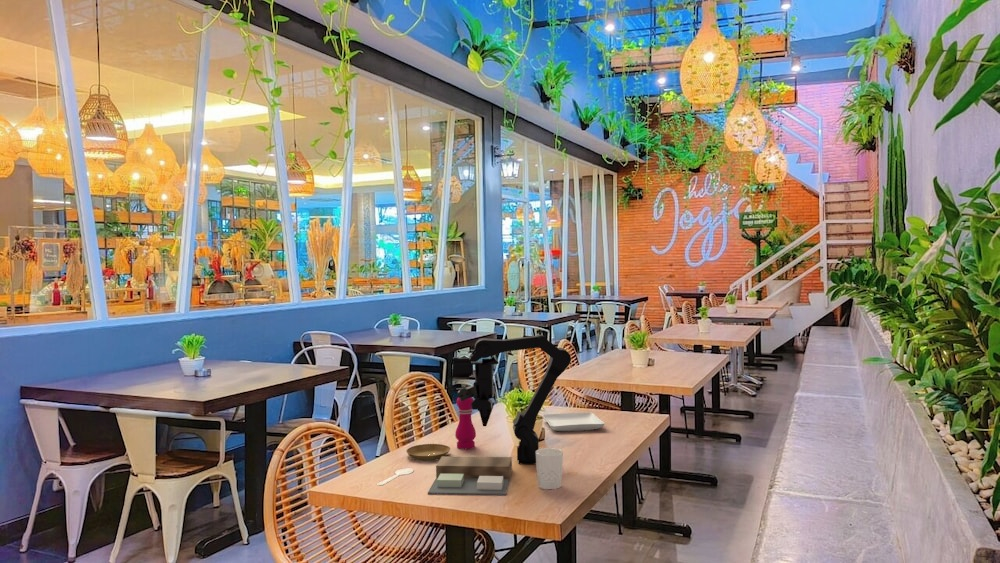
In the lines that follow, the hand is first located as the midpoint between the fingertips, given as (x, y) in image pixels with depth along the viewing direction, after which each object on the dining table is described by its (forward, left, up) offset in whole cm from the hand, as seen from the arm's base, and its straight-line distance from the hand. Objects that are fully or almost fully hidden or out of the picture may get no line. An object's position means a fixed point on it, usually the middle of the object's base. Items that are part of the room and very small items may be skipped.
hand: (484, 426), depth 221 cm
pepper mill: (+9, -19, -12) cm, 24 cm away
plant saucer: (+20, -7, -12) cm, 25 cm away
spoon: (+26, +15, -12) cm, 33 cm away
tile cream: (-4, +24, -10) cm, 26 cm away
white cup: (-21, +22, -12) cm, 33 cm away
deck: (+2, +12, -12) cm, 17 cm away
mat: (+2, +24, -12) cm, 27 cm away
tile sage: (+8, +23, -10) cm, 26 cm away
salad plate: (-29, -51, -13) cm, 60 cm away
